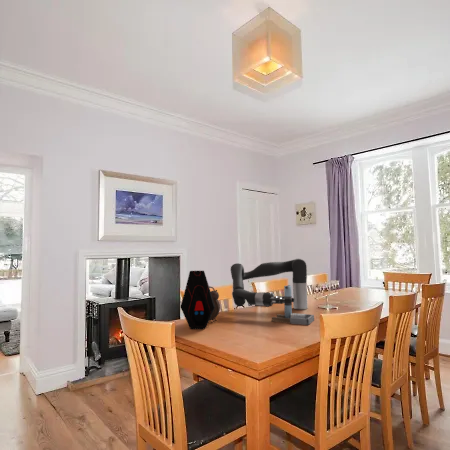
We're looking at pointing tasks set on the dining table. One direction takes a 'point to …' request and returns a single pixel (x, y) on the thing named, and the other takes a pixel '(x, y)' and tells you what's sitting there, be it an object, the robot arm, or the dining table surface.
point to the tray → (302, 320)
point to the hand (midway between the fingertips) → (292, 300)
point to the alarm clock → (217, 304)
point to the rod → (288, 305)
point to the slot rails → (281, 319)
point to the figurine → (197, 301)
